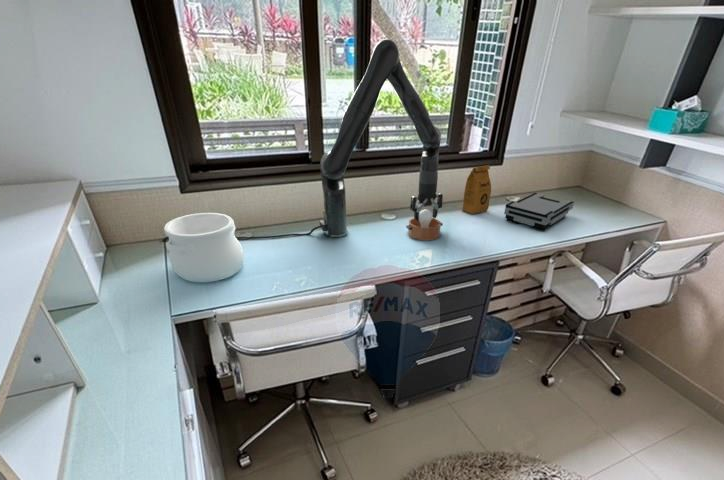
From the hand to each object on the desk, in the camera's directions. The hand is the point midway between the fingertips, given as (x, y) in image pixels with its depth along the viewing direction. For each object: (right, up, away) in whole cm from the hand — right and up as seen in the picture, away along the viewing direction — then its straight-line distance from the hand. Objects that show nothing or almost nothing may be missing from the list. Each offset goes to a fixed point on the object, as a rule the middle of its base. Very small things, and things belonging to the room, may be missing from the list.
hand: (425, 218), depth 176 cm
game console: (+58, +7, +24) cm, 63 cm away
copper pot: (0, -6, +4) cm, 7 cm away
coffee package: (+28, +12, +30) cm, 43 cm away
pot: (-81, -27, -28) cm, 90 cm away
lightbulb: (0, -6, +4) cm, 7 cm away
